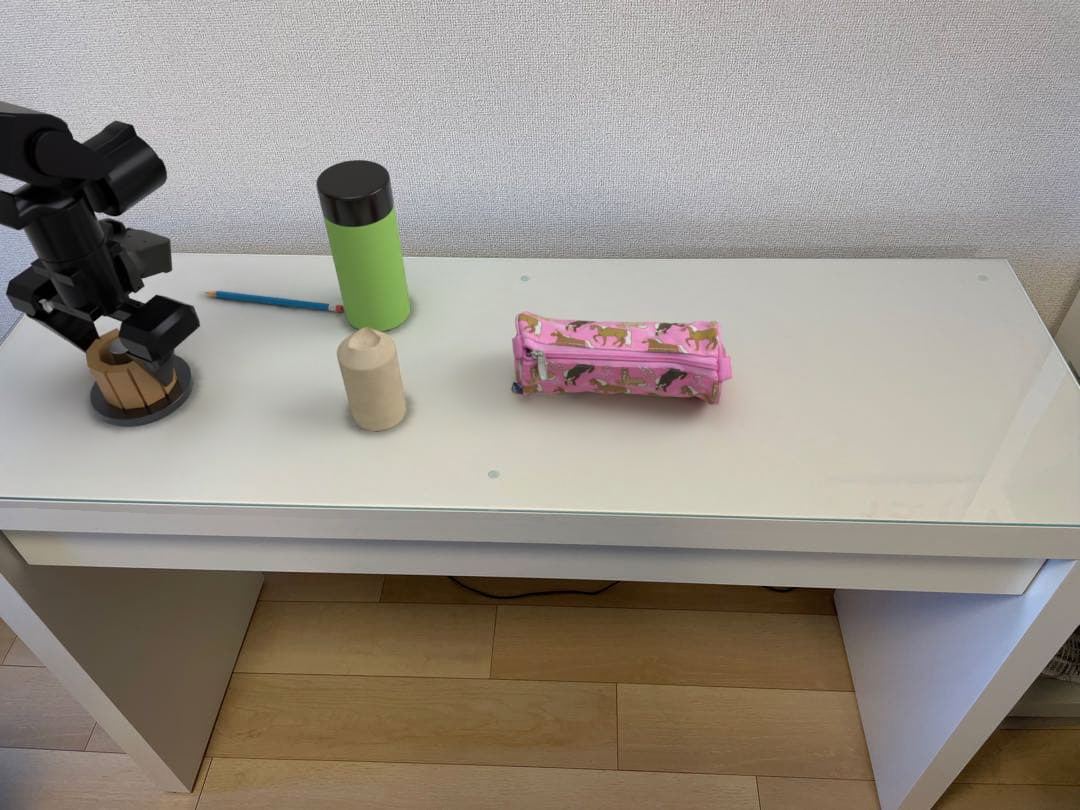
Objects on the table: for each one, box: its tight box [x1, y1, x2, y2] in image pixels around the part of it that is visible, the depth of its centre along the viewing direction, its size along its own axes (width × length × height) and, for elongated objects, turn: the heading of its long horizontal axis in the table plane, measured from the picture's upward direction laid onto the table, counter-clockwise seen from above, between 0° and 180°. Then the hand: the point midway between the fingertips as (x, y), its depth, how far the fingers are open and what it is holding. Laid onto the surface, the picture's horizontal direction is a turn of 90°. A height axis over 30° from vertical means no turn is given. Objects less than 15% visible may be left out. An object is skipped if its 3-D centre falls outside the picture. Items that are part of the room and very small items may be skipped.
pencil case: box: [510, 311, 733, 406], centre depth 85 cm, size 21×9×9 cm, turn 85°
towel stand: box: [89, 339, 195, 427], centre depth 87 cm, size 10×10×6 cm
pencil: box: [203, 290, 344, 313], centre depth 98 cm, size 1×17×1 cm, turn 79°
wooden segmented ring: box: [85, 327, 177, 409], centre depth 86 cm, size 7×7×5 cm
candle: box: [336, 327, 407, 432], centre depth 83 cm, size 6×6×10 cm
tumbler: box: [315, 159, 411, 332], centre depth 91 cm, size 8×8×17 cm
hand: (133, 370), depth 87 cm, fingers open, 9 cm apart
